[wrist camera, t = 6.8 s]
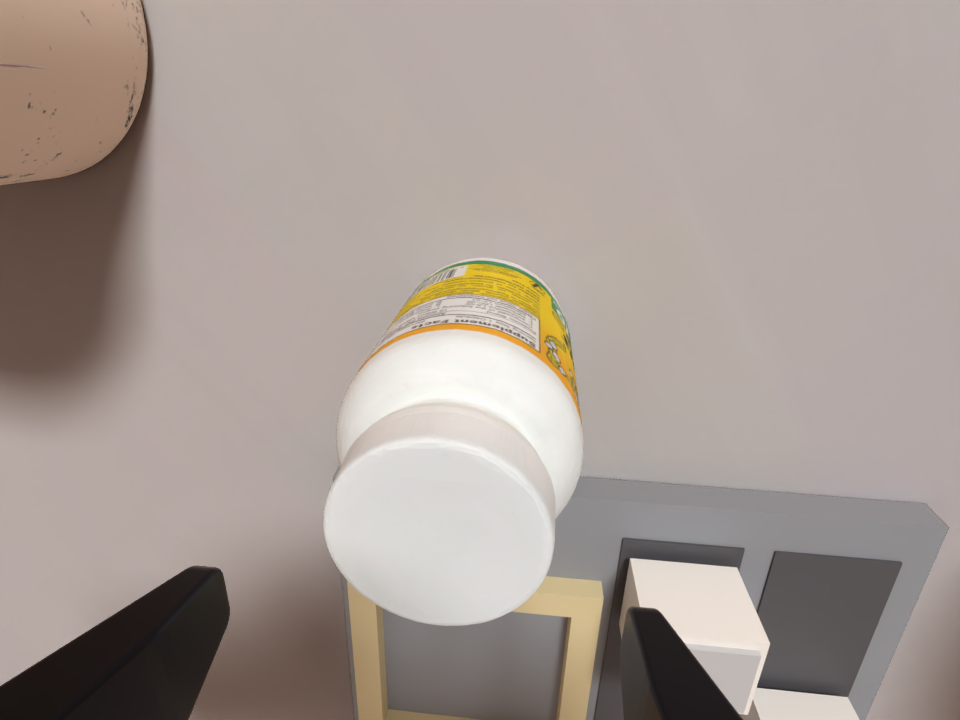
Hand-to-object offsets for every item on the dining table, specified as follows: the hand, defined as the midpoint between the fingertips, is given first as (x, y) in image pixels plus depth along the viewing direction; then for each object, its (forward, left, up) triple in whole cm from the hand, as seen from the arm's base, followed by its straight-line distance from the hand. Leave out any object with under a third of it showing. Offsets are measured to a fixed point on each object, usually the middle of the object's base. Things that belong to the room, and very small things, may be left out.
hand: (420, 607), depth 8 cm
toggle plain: (-7, +9, -9) cm, 14 cm away
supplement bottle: (0, 0, -11) cm, 11 cm away
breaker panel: (-5, +12, -11) cm, 17 cm away
